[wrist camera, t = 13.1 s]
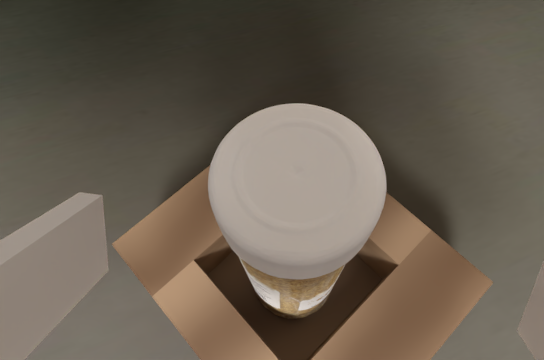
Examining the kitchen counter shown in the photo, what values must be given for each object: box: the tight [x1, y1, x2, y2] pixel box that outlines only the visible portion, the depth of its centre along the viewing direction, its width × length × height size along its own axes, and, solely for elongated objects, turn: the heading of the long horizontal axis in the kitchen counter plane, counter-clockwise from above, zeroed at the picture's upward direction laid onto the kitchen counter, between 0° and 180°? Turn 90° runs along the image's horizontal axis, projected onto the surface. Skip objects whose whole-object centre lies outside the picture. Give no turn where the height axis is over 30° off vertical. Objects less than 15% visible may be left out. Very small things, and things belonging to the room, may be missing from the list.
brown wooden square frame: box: [112, 166, 493, 360], centre depth 21 cm, size 14×12×5 cm
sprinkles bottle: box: [208, 103, 386, 319], centre depth 15 cm, size 5×5×13 cm
